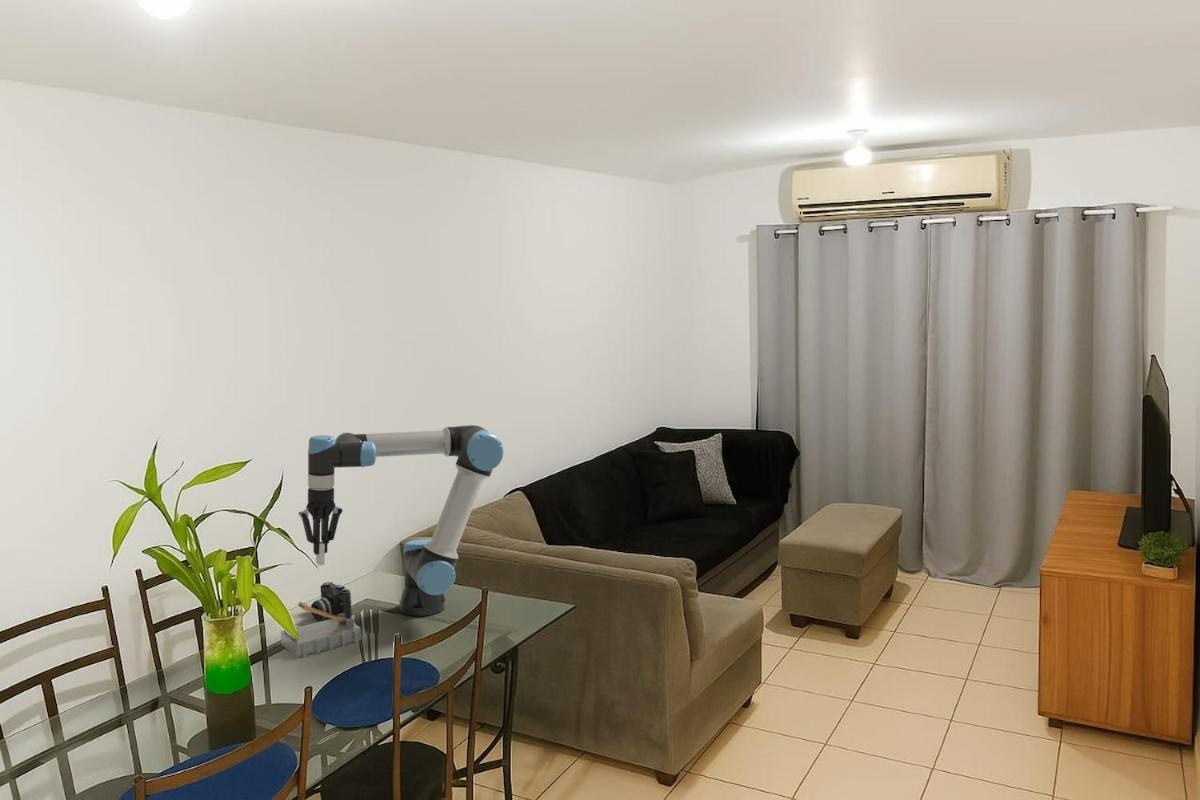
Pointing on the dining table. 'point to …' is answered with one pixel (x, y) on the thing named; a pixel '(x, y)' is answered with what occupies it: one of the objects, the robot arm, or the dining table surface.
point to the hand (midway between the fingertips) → (320, 563)
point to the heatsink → (321, 636)
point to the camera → (333, 601)
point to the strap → (321, 612)
